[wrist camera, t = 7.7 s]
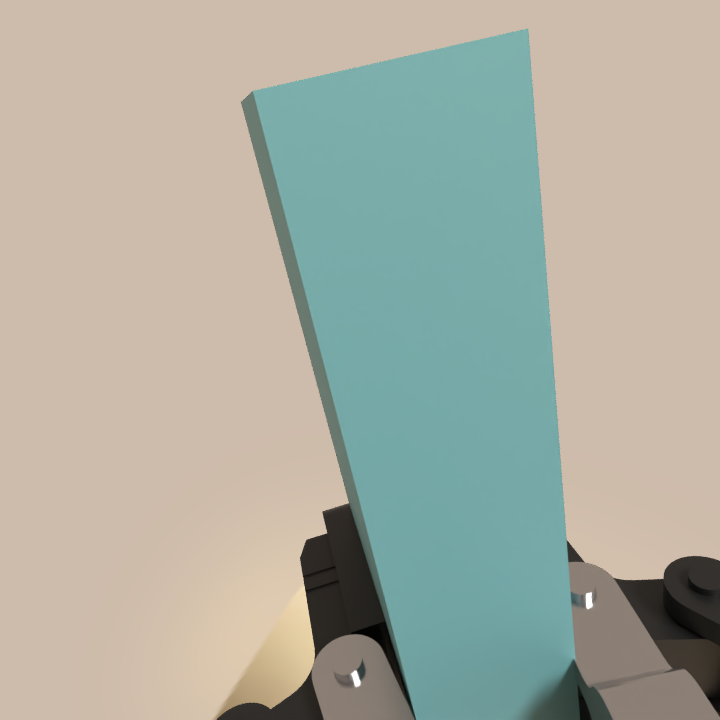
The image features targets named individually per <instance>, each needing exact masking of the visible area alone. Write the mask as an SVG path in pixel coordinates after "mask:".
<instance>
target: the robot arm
mask: <svg viewBox="0 0 720 720" xmlns="http://www.w3.org/2000/svg"><path fill="white" fill-rule="evenodd" d="M323 517H324V521H325V525H326V529H327V534H324V535H321V536H317V537H314V538H311V539H308V540H306V543H305V545H304V548H303V551H302V554H301V557H300V561H301V567H302V573H303V578H304V585H305V591H306V597H307V604H308V610H309V616H310V622H311V628H312V634H313V641H314V647H315V660H314V664H313V667H312V670H311V672H310V674H309V676H308V677H307V679H306V681H305V682H304V683H303V684H302V686H301V687H300V688H299V689H298V690H297V691H296V692H294V693H293V694H292V695H291V696H289V697H288V698H286V699H285V700H283V701H282V702H281V703H279V704H278V705H276V706H275V707H273V708H272V709H269V708H268V707H267V706H265V705H262V704H259V703H245V704H241V705H238V706H235V707H233V708H231V709H229V710H228V711H226V712H225V713H223V714H222V715H221V716H220V717H219V718H218V719H217V720H415V719H414V717H413V715H412V713H411V710H410V708H409V706H408V704H407V700H406V696H405V692H404V688H403V685H402V681H401V677H400V673H399V669H398V666H397V662H396V658H395V654H394V651H393V647H392V643H391V639H390V635H389V632H388V628H387V624H386V620H385V617H384V614H383V611H382V608H381V604H380V601H379V598H378V595H377V592H376V588H375V585H374V582H373V579H372V575H371V572H370V569H369V566H368V563H367V559H366V556H365V553H364V550H363V547H362V543H361V540H360V537H359V534H358V530H357V527H356V524H355V521H354V518H353V514H352V511H351V508H350V504H345V505H342V506H339V507H335V508H333V509H329V510H326V511H323ZM567 553H568V566H569V579H570V593H571V606H572V619H573V633H574V646H575V658H574V668H575V679H576V681H577V686H578V699H579V713H580V720H720V561H719V560H716V559H712V558H708V557H701V556H691V557H690V556H689V557H684V558H680V559H677V560H675V561H674V562H672V563H671V564H669V566H668V567H667V568H666V569H665V572H664V579H654V580H620V579H615V578H613V577H612V576H611V575H610V574H609V573H608V572H606V571H605V570H603V569H602V568H600V567H598V566H595V565H592V564H589V563H585V562H584V561H583V560H582V558H581V557H580V556H579V555H578V553H577V552H576V551H575V550H574V549H573V547H572V546H571V545H570V543H569V542H568V541H567Z"/></svg>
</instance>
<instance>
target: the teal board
mask: <svg viewBox="0 0 720 720" xmlns="http://www.w3.org/2000/svg"><path fill="white" fill-rule="evenodd" d="M241 104H242V108H243V111H244V115H245V119H246V122H247V126H248V129H249V134H250V137H251V141H252V144H253V148H254V152H255V156H256V159H257V163H258V167H259V171H260V174H261V178H262V181H263V185H264V189H265V193H266V197H267V200H268V204H269V207H270V211H271V215H272V219H273V222H274V226H275V230H276V233H277V237H278V241H279V245H280V248H281V252H282V256H283V260H284V263H285V267H286V271H287V274H288V278H289V282H290V285H291V289H292V293H293V296H294V300H295V304H296V308H297V311H298V315H299V319H300V322H301V326H302V330H303V333H304V337H305V341H306V345H307V348H308V352H309V356H310V359H311V363H312V367H313V371H314V374H315V378H316V382H317V386H318V389H319V393H320V397H321V400H322V404H323V408H324V412H325V415H326V419H327V422H328V426H329V430H330V434H331V438H332V441H333V445H334V449H335V452H336V456H337V459H338V463H339V467H340V471H341V475H342V478H343V482H344V486H345V489H346V493H347V497H348V501H349V504H350V508H351V511H352V514H353V518H354V521H355V524H356V527H357V530H358V534H359V537H360V540H361V543H362V547H363V550H364V553H365V556H366V559H367V563H368V566H369V569H370V572H371V575H372V579H373V582H374V585H375V588H376V592H377V595H378V598H379V601H380V604H381V608H382V611H383V614H384V617H385V620H386V624H387V628H388V632H389V635H390V639H391V643H392V647H393V651H394V654H395V658H396V662H397V666H398V669H399V673H400V677H401V681H402V685H403V688H404V692H405V696H406V700H407V704H408V706H409V708H410V710H411V713H412V715H413V717H414V719H415V720H580V713H579V699H578V686H577V681H576V679H575V668H574V658H575V646H574V633H573V619H572V606H571V593H570V579H569V566H568V553H567V539H566V527H565V514H564V500H563V487H562V475H561V474H562V473H561V461H560V447H559V433H558V419H557V407H556V393H555V380H554V366H553V353H552V340H551V326H550V314H549V300H548V288H547V287H548V286H547V273H546V259H545V246H544V234H543V219H542V207H541V194H540V181H539V167H538V153H537V140H536V126H535V113H534V100H533V87H532V74H531V60H530V46H529V33H528V29H524V30H520V31H516V32H511V33H506V34H502V35H498V36H493V37H489V38H485V39H480V40H476V41H471V42H467V43H463V44H458V45H453V46H449V47H445V48H441V49H436V50H432V51H428V52H423V53H418V54H414V55H409V56H405V57H401V58H396V59H392V60H388V61H383V62H379V63H374V64H370V65H365V66H361V67H357V68H352V69H348V70H343V71H339V72H335V73H330V74H326V75H321V76H317V77H313V78H308V79H304V80H299V81H295V82H290V83H286V84H282V85H277V86H273V87H269V88H264V89H260V90H255V91H252V92H251V93H250V94H249V95H248V96H247V97H246V98H245V99H244V100H243V101H242V102H241Z"/></svg>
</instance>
